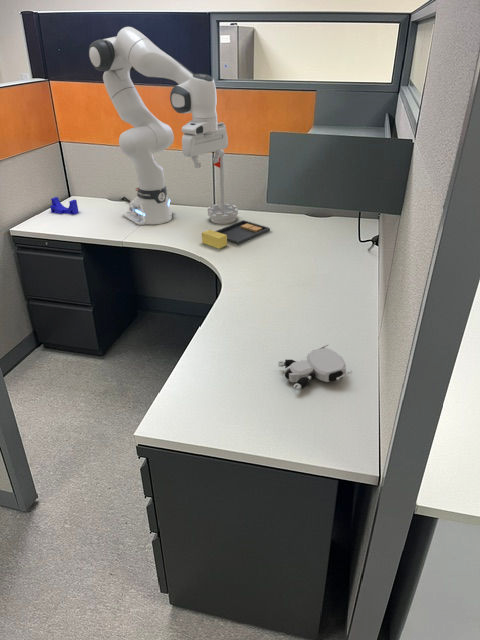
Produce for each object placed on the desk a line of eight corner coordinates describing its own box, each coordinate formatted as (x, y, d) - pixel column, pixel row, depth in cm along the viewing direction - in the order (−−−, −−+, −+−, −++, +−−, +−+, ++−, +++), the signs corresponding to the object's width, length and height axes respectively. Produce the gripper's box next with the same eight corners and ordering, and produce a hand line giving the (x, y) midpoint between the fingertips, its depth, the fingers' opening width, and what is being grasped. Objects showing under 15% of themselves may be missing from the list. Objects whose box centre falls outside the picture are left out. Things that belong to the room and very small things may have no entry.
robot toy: (295, 400, 115) (353, 383, 119) (295, 385, 113) (354, 368, 116) (275, 370, 125) (329, 355, 129) (275, 356, 123) (330, 341, 126)
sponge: (202, 244, 194) (201, 232, 191) (210, 241, 197) (209, 229, 194) (219, 250, 189) (218, 238, 186) (227, 247, 192) (226, 234, 189)
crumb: (248, 230, 205) (248, 228, 205) (255, 227, 208) (255, 225, 207) (256, 232, 203) (256, 230, 202) (262, 229, 205) (262, 227, 205)
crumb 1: (240, 227, 208) (240, 225, 207) (247, 225, 210) (247, 223, 210) (248, 229, 205) (247, 228, 205) (254, 227, 208) (254, 225, 208)
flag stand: (220, 213, 225) (217, 144, 210) (243, 218, 218) (243, 148, 203) (202, 221, 216) (198, 150, 200) (226, 227, 209) (223, 154, 194)
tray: (211, 237, 201) (210, 232, 200) (243, 224, 213) (243, 220, 212) (237, 246, 192) (237, 241, 191) (269, 232, 205) (269, 227, 204)
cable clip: (51, 212, 229) (48, 199, 226) (58, 209, 233) (55, 196, 230) (72, 215, 225) (69, 202, 222) (78, 212, 228) (76, 199, 225)
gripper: (218, 120, 185) (220, 158, 192) (177, 128, 172) (180, 169, 179) (231, 122, 181) (232, 160, 189) (190, 130, 168) (193, 171, 176)
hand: (206, 165), depth 184 cm, fingers open, 8 cm apart
